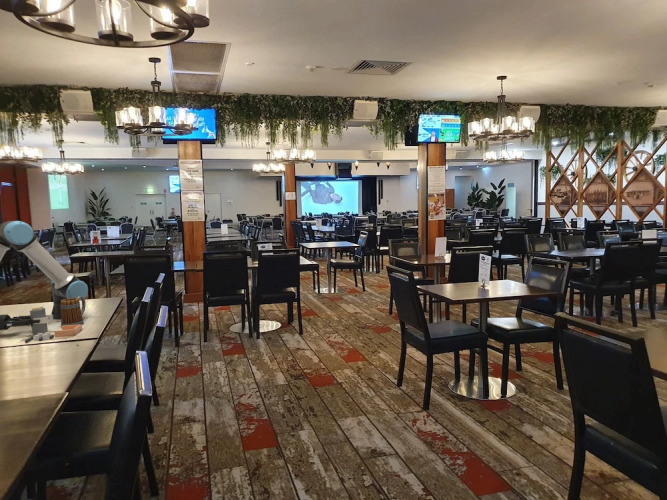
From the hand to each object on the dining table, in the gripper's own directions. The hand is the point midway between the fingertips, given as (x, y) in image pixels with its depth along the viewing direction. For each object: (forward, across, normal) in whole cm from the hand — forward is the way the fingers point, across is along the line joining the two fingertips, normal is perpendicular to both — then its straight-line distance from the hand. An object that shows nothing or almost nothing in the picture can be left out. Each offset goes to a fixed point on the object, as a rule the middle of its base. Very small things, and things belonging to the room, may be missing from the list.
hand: (50, 318), depth 242 cm
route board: (+3, +6, -8) cm, 10 cm away
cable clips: (+1, +12, -7) cm, 14 cm away
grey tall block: (-5, 0, -7) cm, 9 cm away
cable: (0, +13, -7) cm, 15 cm away
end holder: (+10, +6, -7) cm, 14 cm away
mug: (+7, -14, -8) cm, 18 cm away
